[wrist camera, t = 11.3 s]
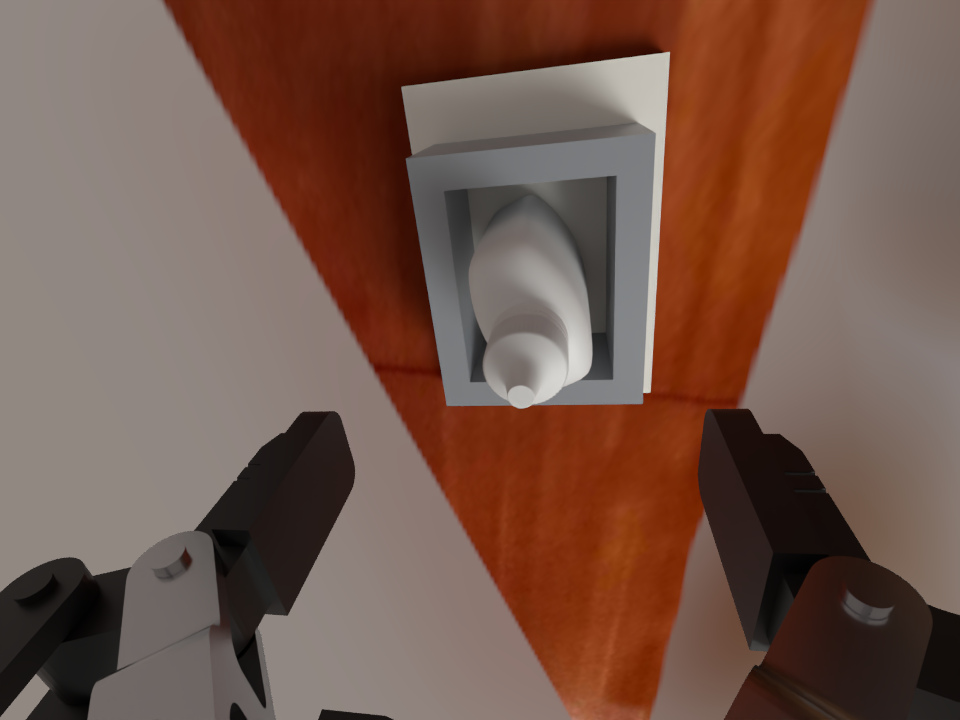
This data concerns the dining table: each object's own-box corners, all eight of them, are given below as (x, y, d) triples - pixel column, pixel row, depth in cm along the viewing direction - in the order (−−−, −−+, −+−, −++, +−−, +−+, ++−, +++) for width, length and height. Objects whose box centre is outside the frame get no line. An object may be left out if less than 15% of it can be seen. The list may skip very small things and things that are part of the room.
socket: (407, 86, 22) (363, 88, 17) (665, 53, 20) (697, 44, 15) (454, 385, 29) (432, 446, 24) (647, 382, 27) (665, 447, 22)
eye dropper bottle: (493, 309, 25) (442, 473, 15) (493, 191, 22) (430, 290, 12) (583, 313, 24) (597, 487, 14) (594, 193, 22) (622, 297, 11)
